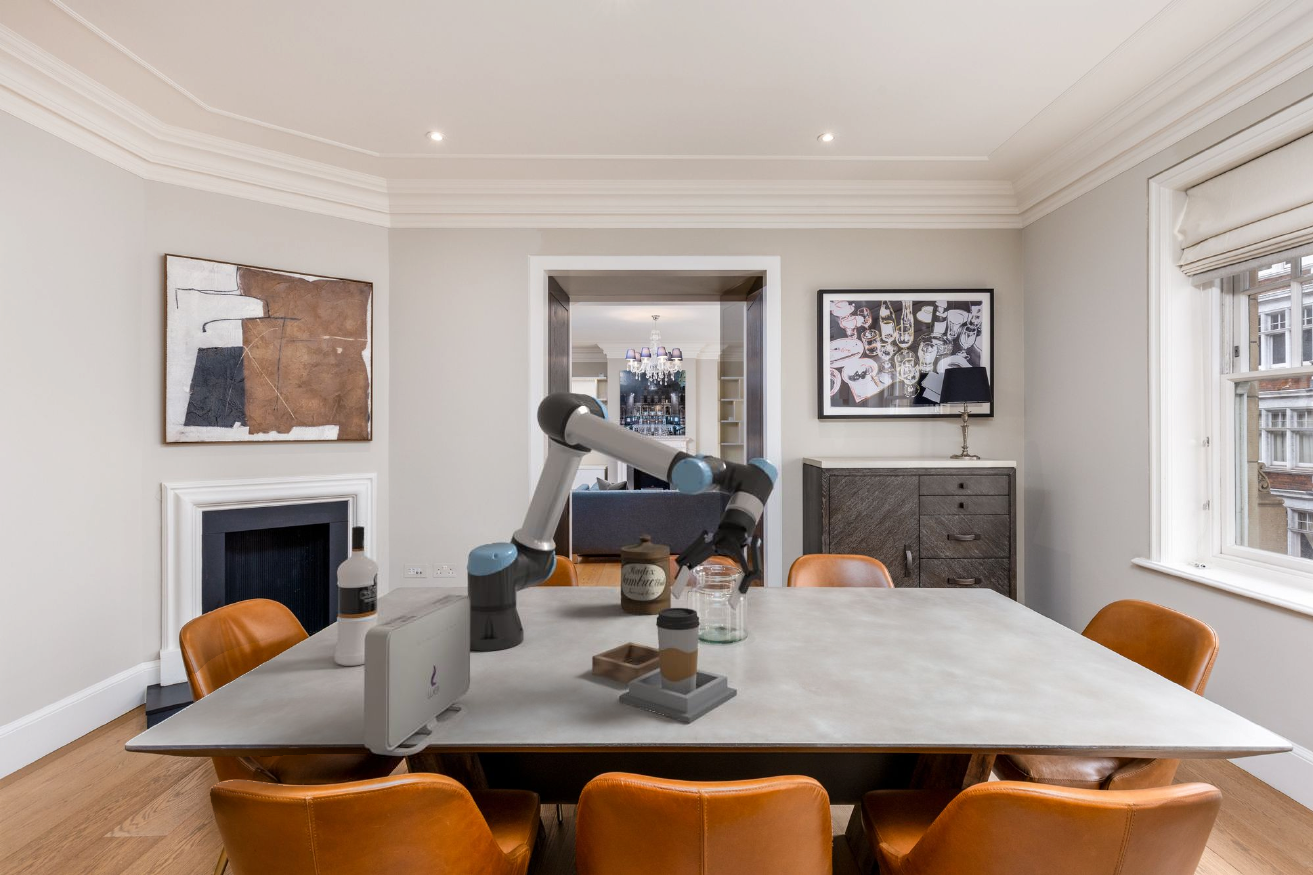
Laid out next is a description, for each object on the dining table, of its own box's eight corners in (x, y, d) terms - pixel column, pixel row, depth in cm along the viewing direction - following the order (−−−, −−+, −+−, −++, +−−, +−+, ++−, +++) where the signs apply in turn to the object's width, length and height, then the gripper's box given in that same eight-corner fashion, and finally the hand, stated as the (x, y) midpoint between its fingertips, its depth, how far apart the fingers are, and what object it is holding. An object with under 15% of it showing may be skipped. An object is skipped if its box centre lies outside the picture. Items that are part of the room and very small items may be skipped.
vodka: (345, 653, 147) (346, 524, 147) (386, 653, 147) (387, 523, 148) (326, 667, 137) (327, 529, 138) (369, 667, 138) (370, 528, 138)
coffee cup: (705, 686, 123) (704, 608, 123) (694, 702, 115) (693, 618, 115) (664, 682, 125) (663, 606, 126) (650, 697, 118) (650, 615, 118)
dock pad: (619, 701, 119) (618, 682, 119) (669, 676, 131) (669, 659, 131) (689, 723, 109) (689, 702, 109) (736, 694, 122) (736, 676, 122)
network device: (399, 768, 94) (400, 632, 94) (347, 762, 96) (348, 629, 96) (481, 701, 119) (481, 594, 119) (438, 697, 121) (439, 592, 121)
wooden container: (615, 614, 181) (615, 537, 182) (626, 602, 196) (626, 530, 196) (666, 616, 179) (666, 538, 179) (674, 603, 194) (673, 531, 194)
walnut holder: (592, 673, 133) (592, 656, 133) (630, 657, 143) (630, 642, 143) (637, 686, 126) (637, 668, 126) (674, 669, 136) (674, 652, 136)
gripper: (798, 533, 132) (764, 621, 120) (699, 524, 148) (660, 601, 136) (787, 510, 128) (750, 598, 116) (686, 503, 144) (644, 581, 132)
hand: (701, 600), depth 126 cm, fingers open, 13 cm apart
